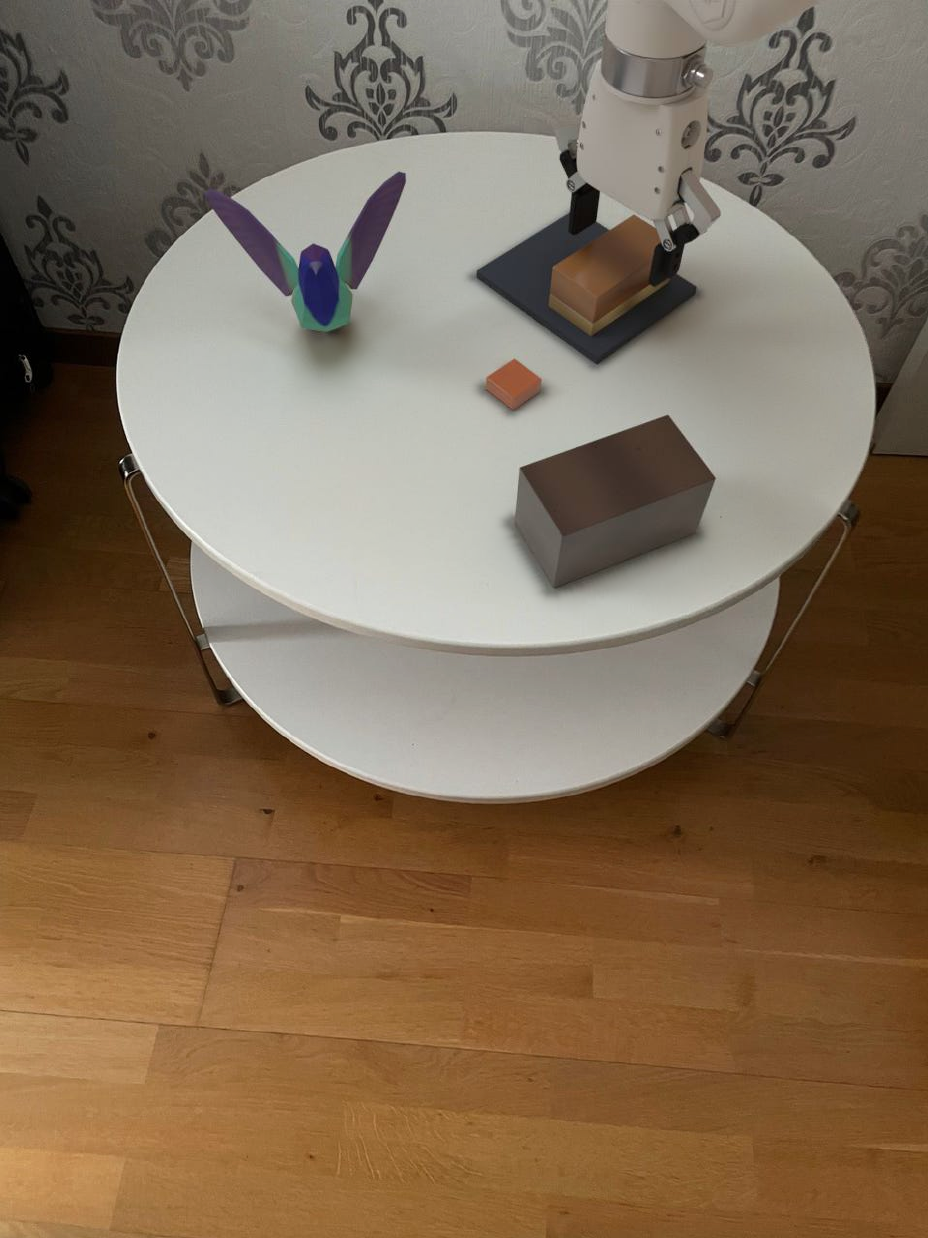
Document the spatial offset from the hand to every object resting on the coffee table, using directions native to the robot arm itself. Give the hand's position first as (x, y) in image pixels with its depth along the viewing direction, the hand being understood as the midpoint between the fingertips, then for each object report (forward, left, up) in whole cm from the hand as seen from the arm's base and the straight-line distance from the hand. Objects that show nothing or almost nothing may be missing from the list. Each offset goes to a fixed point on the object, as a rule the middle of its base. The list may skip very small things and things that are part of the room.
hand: (621, 252), depth 86 cm
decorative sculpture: (+15, +23, -6) cm, 28 cm away
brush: (+1, 0, -5) cm, 5 cm away
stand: (-17, +20, -6) cm, 27 cm away
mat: (+4, 0, -6) cm, 7 cm away
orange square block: (-2, +15, -6) cm, 16 cm away
